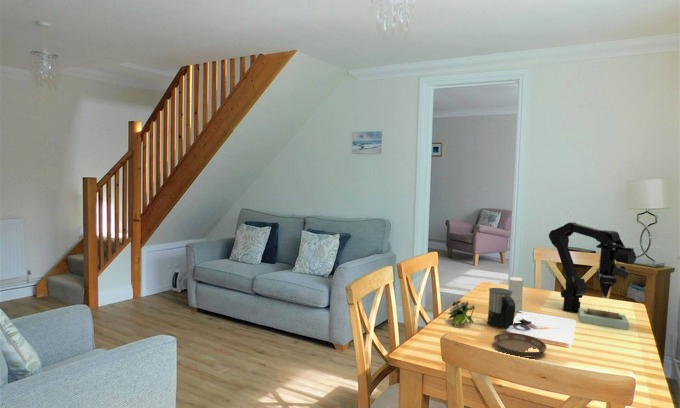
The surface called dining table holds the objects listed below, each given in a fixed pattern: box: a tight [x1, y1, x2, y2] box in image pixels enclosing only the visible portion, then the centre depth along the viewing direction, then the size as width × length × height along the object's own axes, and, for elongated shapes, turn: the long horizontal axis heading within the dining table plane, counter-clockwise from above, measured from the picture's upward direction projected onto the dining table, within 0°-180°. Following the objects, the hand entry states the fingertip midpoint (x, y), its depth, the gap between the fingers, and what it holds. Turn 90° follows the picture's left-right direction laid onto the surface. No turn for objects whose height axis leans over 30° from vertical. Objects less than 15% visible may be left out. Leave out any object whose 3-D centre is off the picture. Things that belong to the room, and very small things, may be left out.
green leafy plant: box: [448, 300, 476, 326], centre depth 186 cm, size 11×11×12 cm
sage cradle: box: [577, 307, 630, 331], centre depth 197 cm, size 18×12×3 cm, turn 65°
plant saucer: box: [493, 332, 547, 358], centre depth 162 cm, size 18×18×3 cm
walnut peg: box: [586, 308, 620, 319], centre depth 197 cm, size 12×4×4 cm, turn 63°
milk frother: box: [486, 287, 532, 329], centre depth 186 cm, size 14×16×15 cm
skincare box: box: [508, 276, 524, 313], centre depth 209 cm, size 8×6×15 cm
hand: (604, 294), depth 197 cm, fingers open, 9 cm apart
